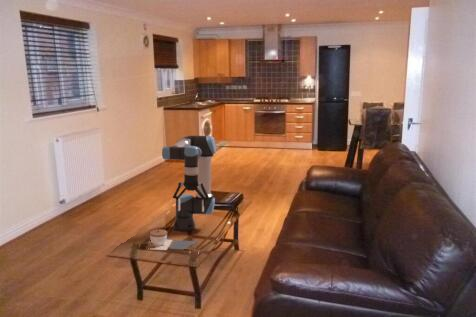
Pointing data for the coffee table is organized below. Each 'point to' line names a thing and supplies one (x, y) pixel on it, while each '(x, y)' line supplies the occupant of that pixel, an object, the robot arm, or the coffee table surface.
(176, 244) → the mat
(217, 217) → the coffee table surface
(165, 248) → the card
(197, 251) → the coffee table surface
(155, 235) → the lidded jar
